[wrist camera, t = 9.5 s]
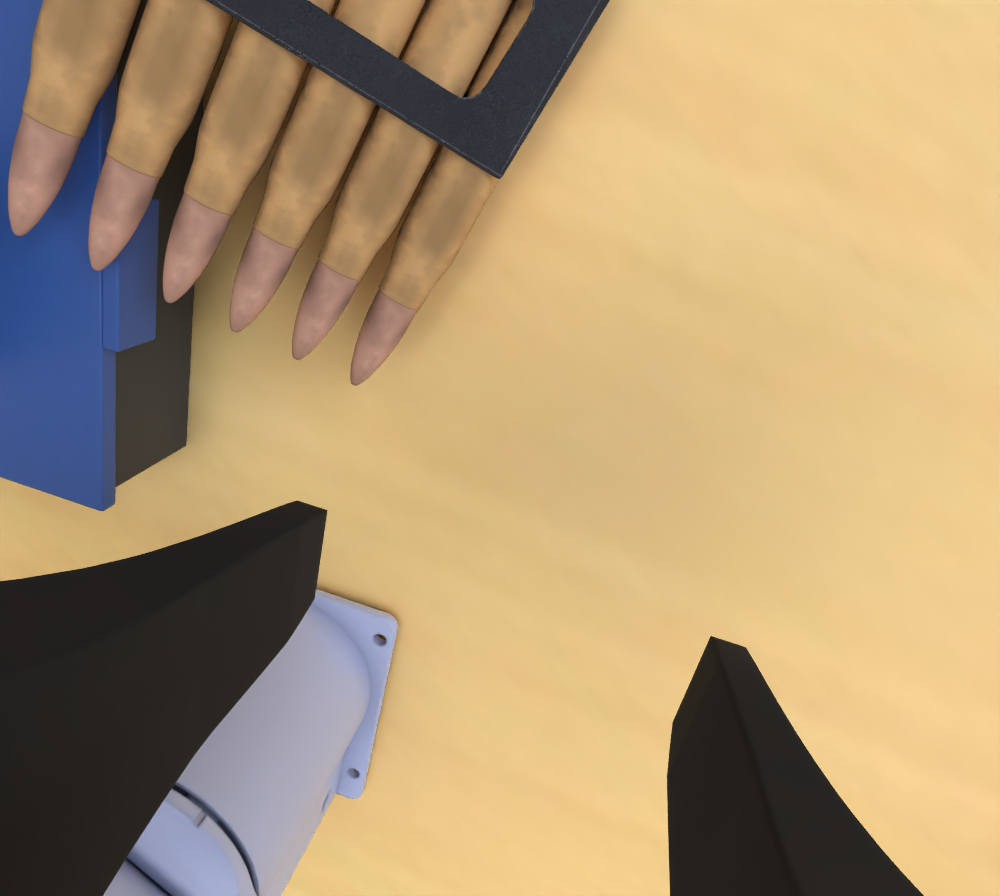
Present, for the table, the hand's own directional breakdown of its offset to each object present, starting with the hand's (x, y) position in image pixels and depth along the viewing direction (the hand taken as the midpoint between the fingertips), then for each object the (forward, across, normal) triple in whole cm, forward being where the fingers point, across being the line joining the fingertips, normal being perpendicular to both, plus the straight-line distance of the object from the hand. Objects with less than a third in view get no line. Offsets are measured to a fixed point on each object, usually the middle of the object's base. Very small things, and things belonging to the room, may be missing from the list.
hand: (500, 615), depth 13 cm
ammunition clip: (+8, +7, -13) cm, 17 cm away
